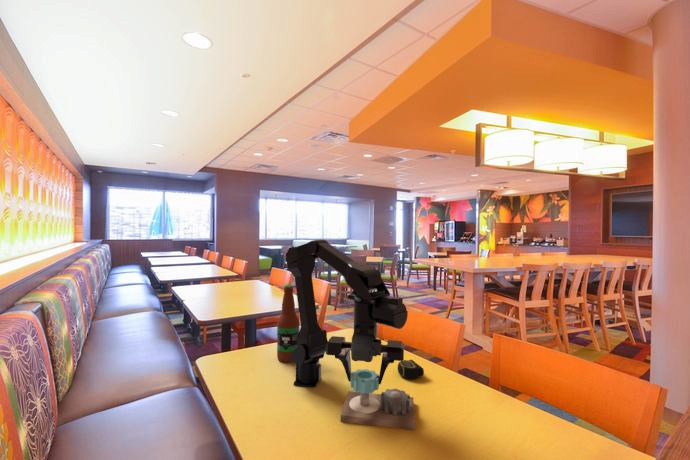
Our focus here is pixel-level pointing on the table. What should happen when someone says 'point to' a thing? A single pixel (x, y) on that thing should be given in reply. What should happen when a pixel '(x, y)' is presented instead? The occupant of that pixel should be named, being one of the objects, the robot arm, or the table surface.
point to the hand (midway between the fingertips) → (364, 382)
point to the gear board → (380, 409)
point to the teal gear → (364, 381)
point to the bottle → (287, 326)
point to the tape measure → (410, 369)
